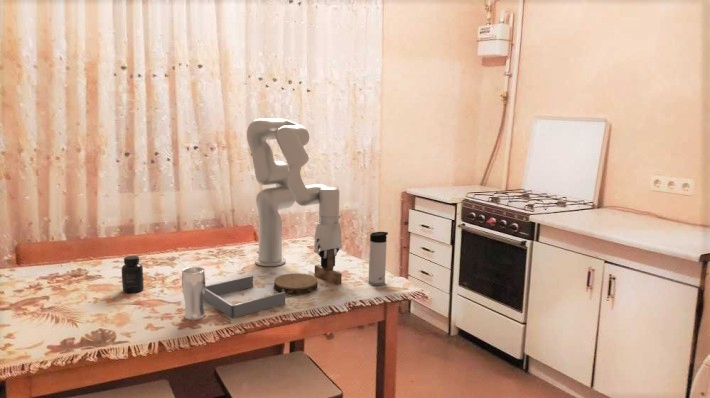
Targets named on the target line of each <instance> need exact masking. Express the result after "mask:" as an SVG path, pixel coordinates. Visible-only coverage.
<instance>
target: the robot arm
mask: <svg viewBox="0 0 710 398" xmlns="http://www.w3.org/2000/svg"><path fill="white" fill-rule="evenodd" d="M267 140H276V142H277V144H278V147H279V149H280V151H281V152H282V155H283V157H284V159H285V161H286V162H285V161H282V160H276V161H275V157H274V154H273V149H272V148H271V146H270V144H269V143H268V142H267ZM309 140H310V134H309V131H308V129H307V128H306V127H304V126H303V125H301V124H299V123H296V122H294V121H291V120H289V119H285V118H271V117H270V118H268V117H267V118H258V119H254V120H253V121H252V122H250V123H249V124H248V127H247V130H246V141H247V143H248V147H249V150H250V152H251V156H252V157H251V159H252V164H253V169H254V174H255V180H256V182H257V183H258V184H259V185H261V186H271V185H275V186H274V187H269V188H264V189H262V190H260V191H258V193H257V195H256V197H255V198H256V199H255V203H256V207H257V212H258V250H256V254H258V257H256V258H255V259H254V261H255V264H257V265H258V266H262V267H277V266H282V265H284V264H286V258H285V257H283V221H282V217H281V215H280V213H279V211H280V210H284V209H285V210H286V209H289V208H292V207H293V206H294V204H295V203H296V204H298V205H299V206H302V207H307V206H312V205H318V204H319V205H318V223H316V228H315V232H314V243H313V244H314V249H313V253H315V254H317V255H318V256H319V257H320V265H321V267H323V268H327V260H328V259H327V258H326V256H327V250H330V249H334V264H333V267H335V266H336V257H337V256H338V252H340V250H341V249H342V248H343V244H342V231H341V223H340V222H339V221H340V219H341V215H340V189H339V188H338V187H335V186H327V185H325V184H322V183H315V184H308V185H305V183H304V181H303V179H302V175H301V170H302V167H304V166H305V165H306V164H307V163H308V162H309V159H310V158H309V154H308V153H307V151H306V149H305V147H304V146H307V144H308V143H309ZM323 251H324V253H323Z"/></svg>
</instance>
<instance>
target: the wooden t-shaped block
mask: <svg viewBox="0 0 710 398" xmlns="http://www.w3.org/2000/svg"><path fill="white" fill-rule="evenodd" d="M323 253H324V251H323ZM326 258H327V259H328V260H327V268H323V267H321V264H315V265H314V275H315V277H318V278H321V279H324V280H326V281H328V282H331V283H332V284H335V285H336V286H337V285H341V284H342V280H343V279H342V278H343V277H342V275H343V274H342V273H341V272H339V271H336V270H334V266H333V264H334V249H330V250H327V256H326Z"/></svg>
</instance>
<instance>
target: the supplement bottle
mask: <svg viewBox="0 0 710 398" xmlns="http://www.w3.org/2000/svg"><path fill="white" fill-rule="evenodd" d="M121 284H122V286H121V287H122V291H123V293H125V294H136V293H139V292H142V291H143V290H144V289H145V288H144V287H145V286H144V269H143V265H142V264H141V263H140V257H139V256H138V255H128V256H125V257H124V258H123V265H122V267H121Z"/></svg>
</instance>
